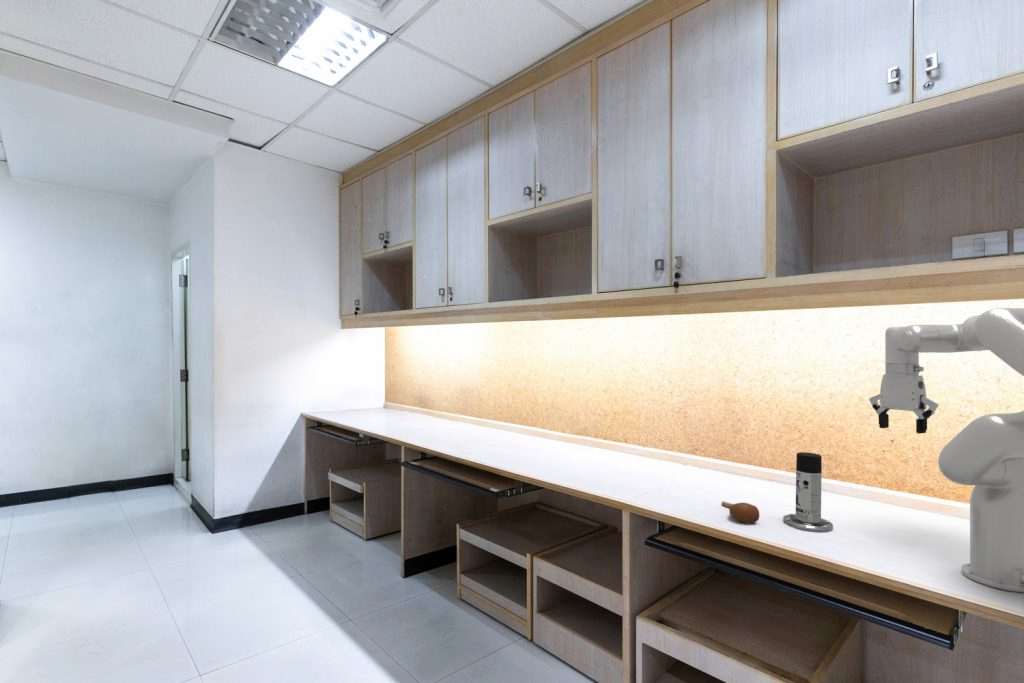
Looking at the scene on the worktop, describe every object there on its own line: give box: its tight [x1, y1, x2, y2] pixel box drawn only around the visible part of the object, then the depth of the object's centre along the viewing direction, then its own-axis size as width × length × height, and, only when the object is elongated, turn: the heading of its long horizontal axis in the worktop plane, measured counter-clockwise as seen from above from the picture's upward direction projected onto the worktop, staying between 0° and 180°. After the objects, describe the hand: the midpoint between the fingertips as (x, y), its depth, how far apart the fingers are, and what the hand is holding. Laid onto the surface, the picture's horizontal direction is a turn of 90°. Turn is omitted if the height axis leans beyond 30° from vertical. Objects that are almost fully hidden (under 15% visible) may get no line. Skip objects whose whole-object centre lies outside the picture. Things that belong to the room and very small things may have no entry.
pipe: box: [721, 501, 760, 524], centre depth 162 cm, size 8×19×6 cm, turn 4°
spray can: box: [795, 451, 823, 524], centre depth 153 cm, size 7×7×20 cm
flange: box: [782, 513, 834, 533], centre depth 153 cm, size 13×13×1 cm
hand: (902, 430), depth 144 cm, fingers open, 9 cm apart
